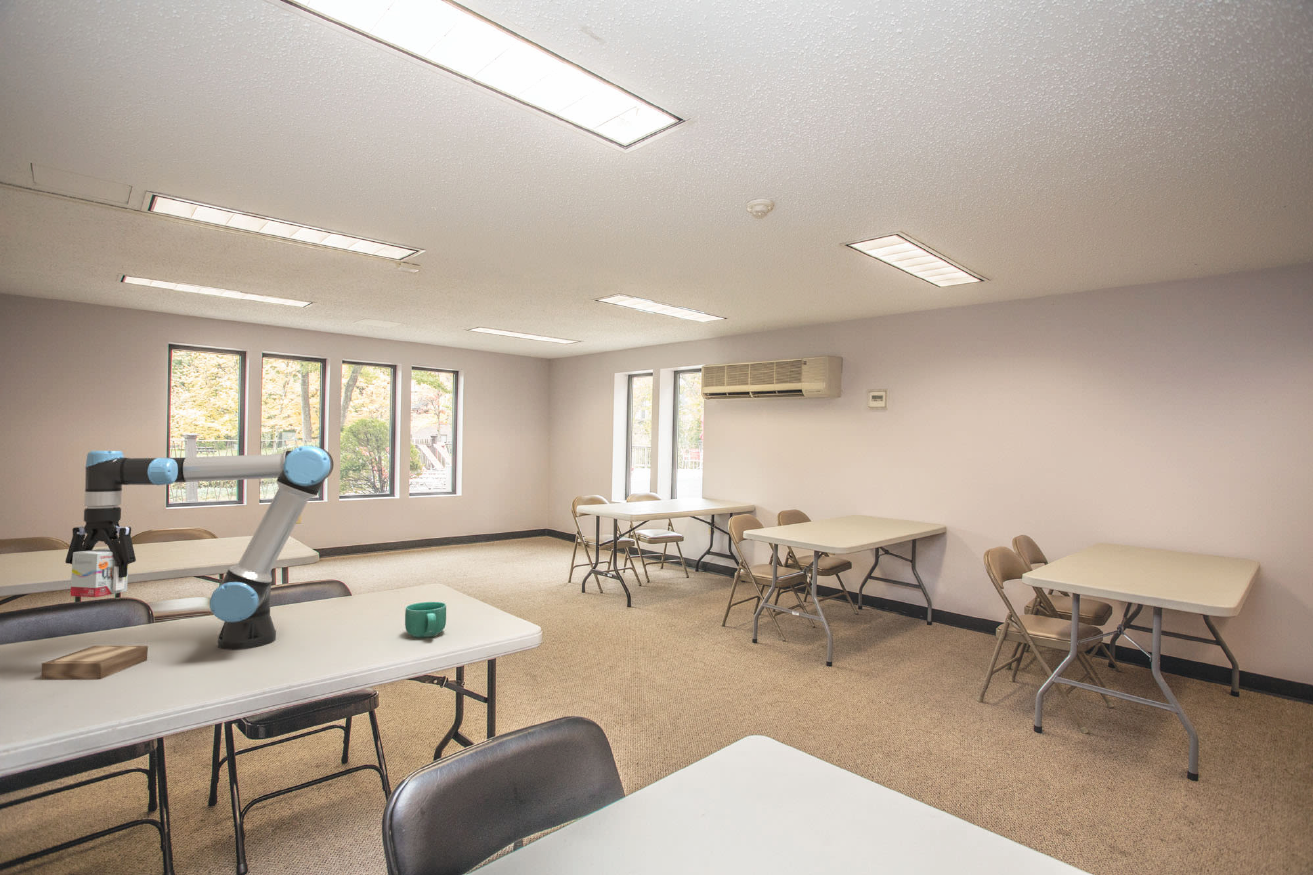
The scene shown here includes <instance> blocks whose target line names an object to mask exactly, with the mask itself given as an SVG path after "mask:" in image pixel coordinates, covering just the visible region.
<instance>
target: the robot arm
mask: <svg viewBox="0 0 1313 875" xmlns="http://www.w3.org/2000/svg"><path fill="white" fill-rule="evenodd" d="M84 469H85V479H84V480H85V485H84V488H85V489H84V502H83V504H84V507H86V508H84V509H83V521H84V522H85V525H84V526H76V527H73V528H72V537H71V541H70V545H69V548H68V550H67V555H66V558H65V564H70V565H72V561H73V552H79V551H89V550H94V547H95V546H96V544H98V543H99V542H103V544H104V545H107V547H108V548H109V549H110V551H111V552H113V557H114V559H115V561H116V563H117V565H115V566H114V578H113V591H117V590H121V589H124V582H125V577H126V576H127V566H128V567H129V564H132V563H135V562H136V561H137V560H136V554H135V550H134V546H133V542H132V536H131V535H132V534H131V533H132V527H131V526H125V527H123V526H121V525H120V521H121V520H122V519H121V518H122V508H121V507H120V506H121V505H122V491H123V486H134V485H135V486H164V485H166V486H167V485H172V484H174V483H177V484H178V483H192V482H216V481H217V482H218V481H239V480H242V481H243V480H259V479H260V480H262V479H263V480H264V479H276V484H277V486H278V489H277V491H276V492H275V495H274V496H273V498H272V500H271V502H270V504H269V506H268V508H267V509H266V511H265V514H264V515H263V517H262V518H261V521H260V523H259V525H258V526H257V528H256V530H255V532H254V534H253V536H252V537H251V538H250V541H249V543H248V545H247V546H246V548H245V550H244V552H243V554H242V556H241V557H240V560H239V562H238V563H237V564H233V565H231V566H229V567H228V569H227V572H226V573H225V575H224V576H223V579H222V581H221V583H220V584H219V586H218V587H216V588H215V590H213V592H212V593H211V595H210V598H209V608H210V611H211V612H212V615H214V616H215V618H217V619H218V620H220V621H223V625H222V628H221V630H220V633H219V635H218V637H217V647H218V649H223V650H242V649H244V650H245V649H251V648H257V647H261V646H264V645H268V644H270V643H272V642H274V641H275V640H276V639H277V631H276V628H275V625H274V622H273V620H272V617H271V594H272V590H271V589H272V581H273V575H272V570H273V567H274V566H275V564H276V562H277V560H278V559H279V556H280V554H281V552H282V550H283V549H284V547H285V545H286V543H287V541H288V539H289V537H290V535H292V532H293V530H294V528H295V526H296V524H297V522H298V520H299V518H300V516H301V515H302V512H303V511H304V508H306V506H307V503H308V501H309V500H310V499H312V498H315V497H317V496H318V494H319V492H320V490H321V488H322V486H323V484H324V482H325V481H326V479H328V477H329V476H330V475H331V474H332V472H333V469H334V460H333V456H332V455H331V454H330V453H329V452H328V451H327V450H326V449H324V448H322V447H319V446H314V445H303V446H298V447H297V448H294V449H293V450H284V452H282V453H279V454H277V453H276V454H275V453H274V454H273V453H272V454H248V455H247V454H246V455H245V454H244V455H221V456H220V455H217V456H216V455H214V456H188V457H136V458H135V457H125V456H124V453H123V451H121V450H91V451H89V452H88V453H87V455H86V461H85V468H84Z"/></svg>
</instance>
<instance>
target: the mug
mask: <svg viewBox="0 0 1313 875" xmlns="http://www.w3.org/2000/svg"><path fill="white" fill-rule="evenodd" d="M404 612H405V614H404V627H405V628H404V629H405V631H406V632H407V633H408V634H409V635H410V636H412V637H414V638H417V639H427V638H433V637H435V636H437V635H438V634H439V633H442V631H444V629H445V627H446V625H447V604H446V603H445V602H441V601H423V602H417V603H412V604H409V605H406V607H405V611H404Z"/></svg>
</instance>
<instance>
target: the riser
mask: <svg viewBox="0 0 1313 875" xmlns="http://www.w3.org/2000/svg"><path fill="white" fill-rule="evenodd" d="M148 648H149V647H148V645H92V646H89V647H87V648H83V649H80V650H77V651H74V652H72V653H69V654H65V655H63V656H60V657H57V658H53V659H51V660H48V661H46V662H45V661H44V662H42V663H41V671H40V672H41V675H40V679H41V680H103V679H104V678H107V677H109V676H112V675H114V674H116V673H119V672H121V671H124V670H126V669H129V668H132V667H133V666H136V665H138V664H141V663H144V662H146V661H148Z"/></svg>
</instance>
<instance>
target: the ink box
mask: <svg viewBox="0 0 1313 875" xmlns="http://www.w3.org/2000/svg"><path fill="white" fill-rule="evenodd" d="M71 565H72V566H71V578H70V581H71V582H70V597H78V598H79V597H81V598H101V597H105V596H109V595H111V596H112V595H116V594H118V593H125V592H127V591H128V582H129V581H128V580H129V579H128V577H129V565H128V566H127V576H126V577H125V582H124V589H121V590H117V591H113V578H114V566H115V565H117V563H116V561H115V559H114V557H113V552H111V551H110V549H109V547H108V548H107V547H106V548H99V549H92V550H89V551H79V552H73V561H72V564H71Z"/></svg>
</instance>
